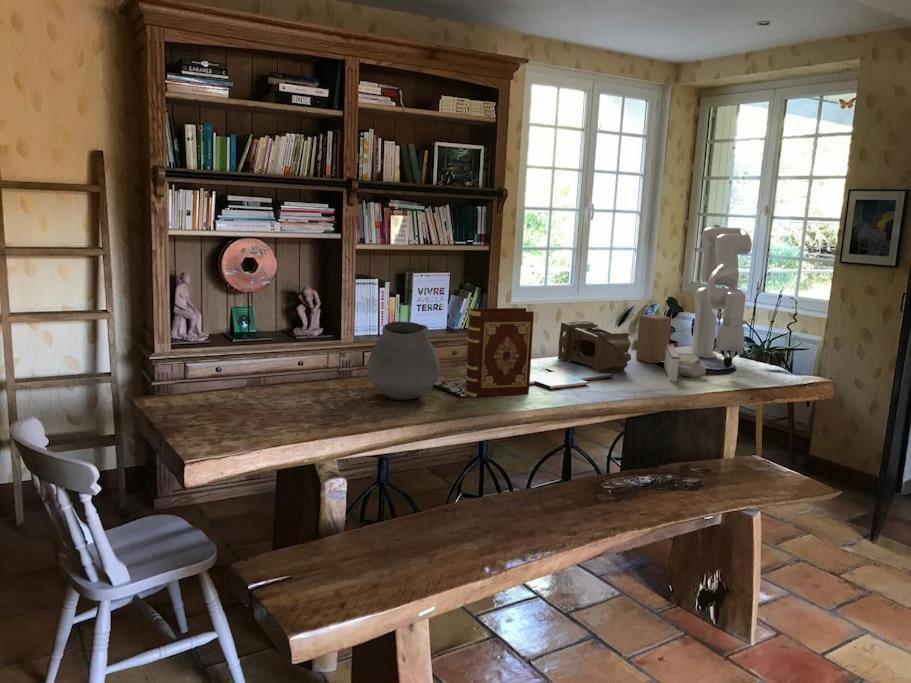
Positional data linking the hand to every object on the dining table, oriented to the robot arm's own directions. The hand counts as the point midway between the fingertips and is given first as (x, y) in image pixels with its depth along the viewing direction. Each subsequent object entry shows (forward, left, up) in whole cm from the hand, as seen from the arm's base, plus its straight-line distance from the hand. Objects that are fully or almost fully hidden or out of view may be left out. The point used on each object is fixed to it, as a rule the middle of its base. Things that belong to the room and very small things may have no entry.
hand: (727, 367), depth 298 cm
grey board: (0, -22, -4) cm, 22 cm away
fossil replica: (+2, -14, -5) cm, 15 cm away
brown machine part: (-1, -51, -5) cm, 51 cm away
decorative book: (+54, -87, -5) cm, 103 cm away
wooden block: (-22, -28, -5) cm, 36 cm away
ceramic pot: (+69, -117, -5) cm, 136 cm away
